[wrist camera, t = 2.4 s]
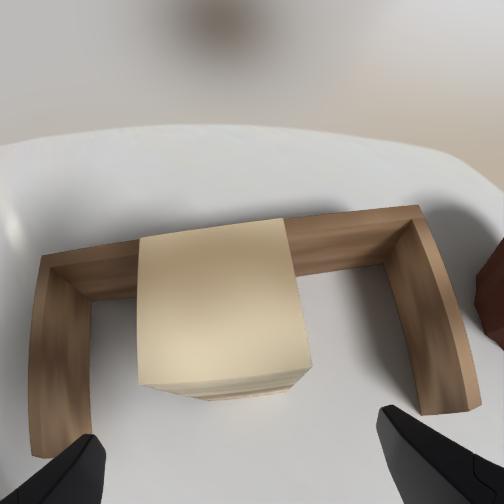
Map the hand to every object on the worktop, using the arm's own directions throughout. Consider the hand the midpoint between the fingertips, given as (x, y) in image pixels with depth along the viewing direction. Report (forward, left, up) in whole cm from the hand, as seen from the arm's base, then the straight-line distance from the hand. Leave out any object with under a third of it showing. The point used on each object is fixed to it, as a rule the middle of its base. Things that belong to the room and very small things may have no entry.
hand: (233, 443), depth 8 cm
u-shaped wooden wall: (+4, -1, -11) cm, 12 cm away
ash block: (+4, -1, -11) cm, 12 cm away
